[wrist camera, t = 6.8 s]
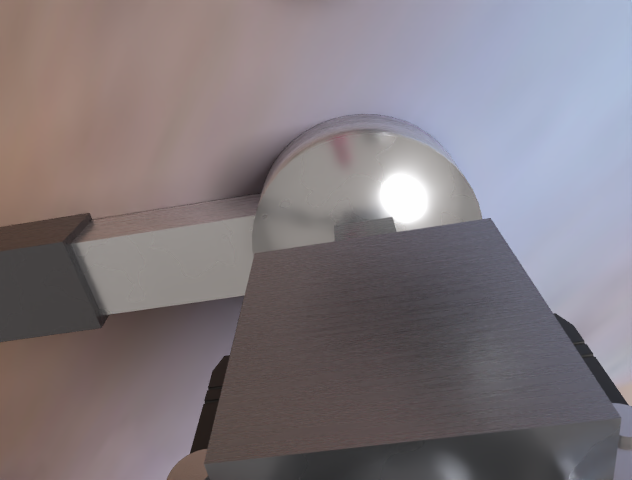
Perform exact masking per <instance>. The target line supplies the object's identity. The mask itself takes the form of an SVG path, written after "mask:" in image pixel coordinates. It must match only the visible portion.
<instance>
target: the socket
mask: <svg viewBox="0 0 632 480" xmlns="http://www.w3.org/2000/svg"><path fill="white" fill-rule="evenodd" d="M620 426H621V416H620V415H619V413H618V412H617V410H616V409H615V407H614V406H613V404H612V403H611V401H610V400H609V398H608V397H607V395H606V394H605V392H604V391H603V389H602V387H601V386H600V384H599V383H598V381H597V380H596V378H595V377H594V375H593V374H592V372H591V371H590V369H589V368H588V366H587V365H586V363H585V362H584V360H583V359H582V357H581V355H580V354H579V352H578V351H577V349H576V348H575V346H574V345H573V343H572V342H571V340H570V339H569V337H568V336H567V334H566V333H565V331H564V330H563V328H562V327H561V325H560V323H559V322H558V320H557V319H556V317H555V316H554V314H553V313H552V311H551V310H550V308H549V307H548V305H547V304H546V302H545V301H544V299H543V298H542V296H541V294H540V293H539V291H538V290H537V288H536V287H535V285H534V284H533V282H532V281H531V279H530V278H529V276H528V275H527V273H526V272H525V270H524V269H523V267H522V266H521V264H520V262H519V261H518V259H517V258H516V256H515V255H514V253H513V252H512V250H511V249H510V247H509V246H508V244H507V243H506V241H505V240H504V238H503V237H502V235H501V234H500V232H499V230H498V229H497V227H496V226H495V224H494V223H493V221H492V220H491V218H488V219H481V220H474V221H468V222H461V223H454V224H447V225H441V226H434V227H427V228H421V229H414V230H407V231H400V232H394V233H387V234H380V235H374V236H367V237H360V238H353V239H347V240H340V241H333V242H327V243H320V244H313V245H306V246H300V247H293V248H286V249H280V250H273V251H266V252H260V253H255V254H254V258H253V262H252V266H251V270H250V275H249V279H248V283H247V287H246V291H245V295H244V299H243V304H242V308H241V312H240V316H239V320H238V324H237V328H236V333H235V337H234V341H233V345H232V349H231V353H230V357H229V362H228V366H227V370H226V374H225V378H224V382H223V386H222V391H221V395H220V399H219V403H218V407H217V411H216V415H215V420H214V424H213V428H212V432H211V436H210V440H209V444H208V449H207V453H206V457H205V461H204V466H205V469H206V471H207V474H208V476H209V479H210V480H613V478H614V471H615V463H616V456H617V448H618V441H619V433H620Z"/></svg>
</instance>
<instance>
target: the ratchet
mask: <svg viewBox="0 0 632 480" xmlns="http://www.w3.org/2000/svg"><path fill="white" fill-rule="evenodd" d="M481 219H482V215H481V211H480V207H479V203H478V201H477V199H476V196H475V194H474V192H473V190H472V188H471V186H470V185H469V183H468V182H467V180H466V179H465V177H464V176H463V174H462V173H461V171H460V170H459V168H458V167H457V165H456V164H455V162H454V161H453V159H452V158H451V156H450V155H449V153H448V152H447V151H446V150H445V149H444V148H443V146H442V145H441V144H440V143H439V142H438V141H437V140H435V139H434V138H433V137H432V136H431V135H430V134H428V133H427V132H425V131H423V130H422V129H420V128H419V127H417V126H415V125H413V124H410V123H408V122H406V121H403V120H400V119H397V118H393V117H389V116H383V115H376V114H358V115H348V116H344V117H339V118H335V119H332V120H329V121H326V122H324V123H321V124H319V125H317V126H315V127H313V128H311V129H309V130H307V131H306V132H304V133H303V134H302V135H300V136H299V137H297V138H296V139H295V140H294V141H293V142H291V143H290V144H289V145H288V146H287V147H286V148H285V149H284V150H283V152H282V153H281V154H280V155H279V157H278V158H277V159H276V161H275V162H274V164H273V166H272V167H271V169H270V170H269V173H268V175H267V177H266V180H265V182H264V185H263V189H262V193H260V194H253V195H247V196H241V197H234V198H228V199H222V200H215V201H209V202H203V203H196V204H190V205H184V206H177V207H171V208H165V209H158V210H152V211H146V212H139V213H133V214H127V215H120V216H114V217H108V218H101V219H95V220H92V218H91V216H90V213H87V214H81V215H75V216H68V217H62V218H56V219H49V220H43V221H37V222H31V223H24V224H18V225H12V226H5V227H0V342H3V341H11V340H18V339H25V338H32V337H40V336H47V335H54V334H61V333H69V332H76V331H83V330H90V329H97V328H102V326H103V324H104V323H105V321H106V319H107V318H108V316H109V314H117V313H124V312H131V311H138V310H145V309H152V308H159V307H166V306H173V305H181V304H188V303H195V302H202V301H209V300H216V299H223V298H230V297H238V296H244V295H245V291H246V287H247V283H248V279H249V275H250V270H251V266H252V262H253V258H254V254H255V253H260V252H266V251H273V250H280V249H286V248H293V247H300V246H306V245H313V244H320V243H327V242H333V241H340V240H347V239H353V238H360V237H367V236H374V235H380V234H387V233H394V232H400V231H407V230H414V229H421V228H427V227H434V226H441V225H447V224H454V223H461V222H468V221H474V220H481Z"/></svg>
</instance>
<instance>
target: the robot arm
mask: <svg viewBox="0 0 632 480" xmlns="http://www.w3.org/2000/svg"><path fill="white" fill-rule="evenodd" d="M554 316H555V317H556V319H557V320H558V322H559V323H560V325H561V327H562V328H563V330H564V331H565V333H566V334H567V336H568V337H569V339H570V340H571V342H572V343H573V345H574V346H575V348H576V349H577V351H578V352H579V354H580V355H581V357H582V359H583V360H584V362H585V363H586V365H587V366H588V368H589V369H590V371H591V372H592V374H593V375H594V377H595V378H596V380H597V381H598V383H599V384H600V386H601V387H602V389H603V391H604V392H605V394H606V395H607V397H608V398H609V400H610V401H611V403H612V404H613V406H614V407H615V409H616V410H617V412H618V413H619V415H620V416H621V426H620V433H619V441H618V448H617V456H616V463H615V471H614V478H613V480H632V406H629V405H628V404H627V402H626V401H625V399H624V398H623V397H622V395H621V394H620V392H619V391H618V389H617V388H616V386H615V385H614V383H613V382H612V380H611V379H610V378H609V376H608V375H607V373H606V372H605V370H604V369H603V367H602V366H601V365H600V363H599V362H598V360H597V359H596V357H594V356H593V353H592V352H591V350H590V349H589V347H588V346H587V344H585V343H584V340H583V339H582V337H581V336H580V334H579V333H578V331H577V330H576V328H575V327H574V326H573V325H572V324H570V323H569V322H567V321H566V320H564V319H563V318H562V317H560V316H559V315H557V314H556V313H555V314H554ZM229 357H230V355H229V356H224V357H223V359H222V360H221V361H220V362H219V364H218V365H217V366H216V368H215V369H214V370H213V372H212V375H211V379H210V383H209V386H208V391H207V394H206V397H205V404H203V408H202V412H201V415H200V419H199V423H198V426H197V430H196V434H195V437H194V441H193V445H192V448H191V452H190V454H189V455H187V456H186V457H184V458H183V459H182V460H180V461H179V462H178V463H177V464H176V465H175V466H174V467H173V469H172V470H171V472H170V473H169V475H168V477H167V480H210V479H209V476H208V474H207V471H206V469H205V466H204V461H205V457H206V453H207V449H208V444H209V440H210V436H211V432H212V428H213V424H214V420H215V415H216V411H217V407H218V403H219V399H220V395H221V391H222V386H223V382H224V378H225V374H226V370H227V366H228V362H229Z"/></svg>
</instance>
